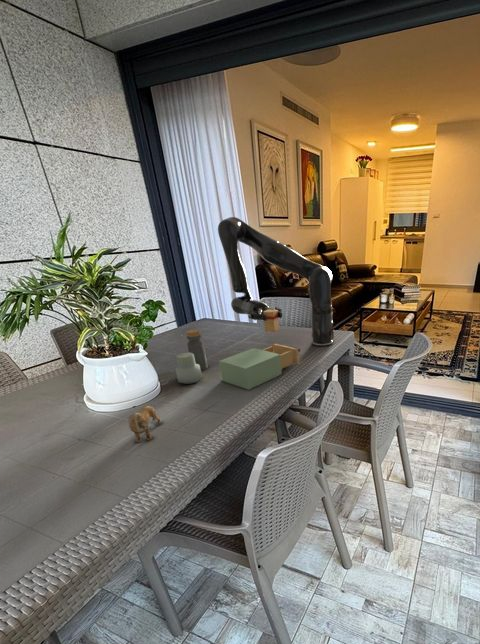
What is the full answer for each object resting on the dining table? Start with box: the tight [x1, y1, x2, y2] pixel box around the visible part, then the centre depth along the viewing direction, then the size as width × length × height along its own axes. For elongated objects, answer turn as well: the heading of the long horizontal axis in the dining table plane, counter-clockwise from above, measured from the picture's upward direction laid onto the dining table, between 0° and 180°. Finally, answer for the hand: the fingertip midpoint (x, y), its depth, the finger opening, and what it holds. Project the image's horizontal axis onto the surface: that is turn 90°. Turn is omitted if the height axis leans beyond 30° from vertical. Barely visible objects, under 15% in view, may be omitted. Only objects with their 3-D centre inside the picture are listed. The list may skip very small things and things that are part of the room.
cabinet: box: [219, 347, 283, 391], centre depth 128 cm, size 17×14×8 cm
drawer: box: [262, 343, 301, 370], centre depth 138 cm, size 20×13×6 cm, turn 143°
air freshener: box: [175, 351, 203, 385], centre depth 127 cm, size 11×8×10 cm
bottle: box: [185, 329, 209, 371], centre depth 137 cm, size 6×6×15 cm
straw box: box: [263, 309, 280, 333], centre depth 144 cm, size 4×4×8 cm
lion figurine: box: [128, 405, 162, 443], centre depth 95 cm, size 15×5×9 cm, turn 13°
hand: (273, 316), depth 141 cm, fingers closed on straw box, 6 cm apart
